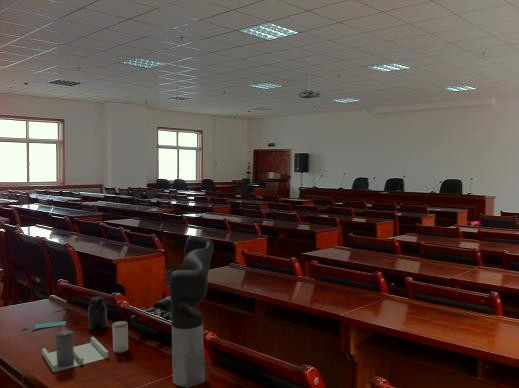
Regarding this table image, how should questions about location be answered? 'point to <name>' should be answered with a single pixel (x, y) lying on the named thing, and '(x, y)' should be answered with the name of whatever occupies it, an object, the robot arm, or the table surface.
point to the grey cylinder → (64, 348)
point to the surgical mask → (51, 324)
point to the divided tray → (78, 355)
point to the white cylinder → (120, 336)
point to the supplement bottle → (97, 314)
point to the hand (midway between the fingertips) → (141, 321)
